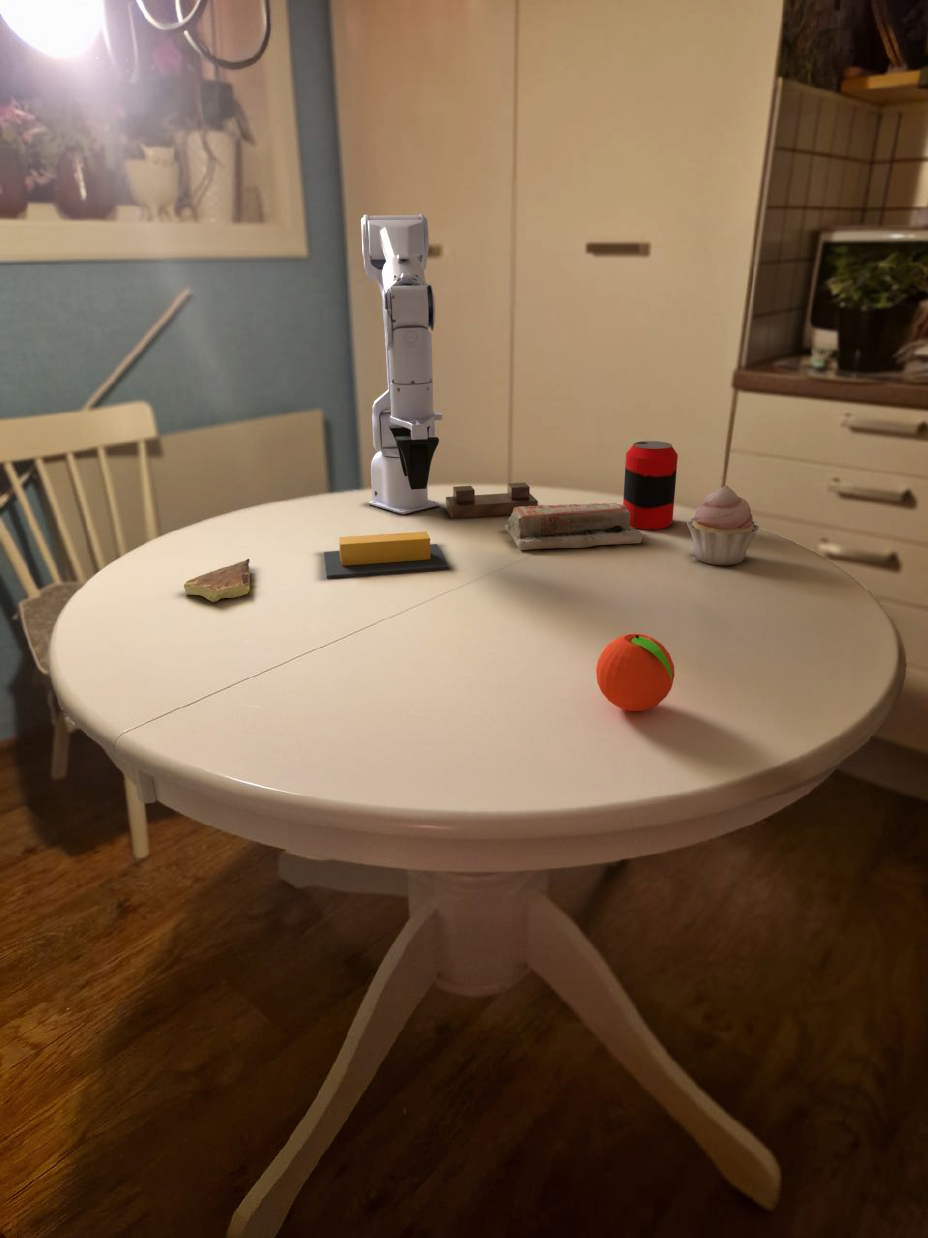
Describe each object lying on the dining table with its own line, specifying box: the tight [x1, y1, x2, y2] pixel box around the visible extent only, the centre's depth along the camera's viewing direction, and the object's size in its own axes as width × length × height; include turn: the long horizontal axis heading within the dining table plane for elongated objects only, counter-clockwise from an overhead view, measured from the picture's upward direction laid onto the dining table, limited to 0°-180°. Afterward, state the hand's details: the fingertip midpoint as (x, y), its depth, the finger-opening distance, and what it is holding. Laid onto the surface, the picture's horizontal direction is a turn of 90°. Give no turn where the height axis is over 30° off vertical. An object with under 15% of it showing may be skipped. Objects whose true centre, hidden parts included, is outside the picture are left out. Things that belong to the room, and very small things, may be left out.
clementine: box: [595, 633, 675, 712], centre depth 77 cm, size 8×7×7 cm
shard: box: [183, 558, 251, 603], centre depth 109 cm, size 11×8×2 cm
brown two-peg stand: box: [445, 482, 539, 519], centre depth 140 cm, size 14×6×4 cm, turn 101°
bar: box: [338, 530, 431, 566], centre depth 117 cm, size 12×3×3 cm, turn 100°
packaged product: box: [505, 502, 643, 551], centre depth 125 cm, size 18×5×10 cm
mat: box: [323, 543, 450, 579], centre depth 117 cm, size 16×10×1 cm, turn 101°
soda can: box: [622, 440, 679, 530], centre depth 130 cm, size 8×8×12 cm
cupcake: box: [686, 485, 760, 566], centre depth 115 cm, size 9×9×10 cm
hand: (414, 481), depth 120 cm, fingers open, 7 cm apart
